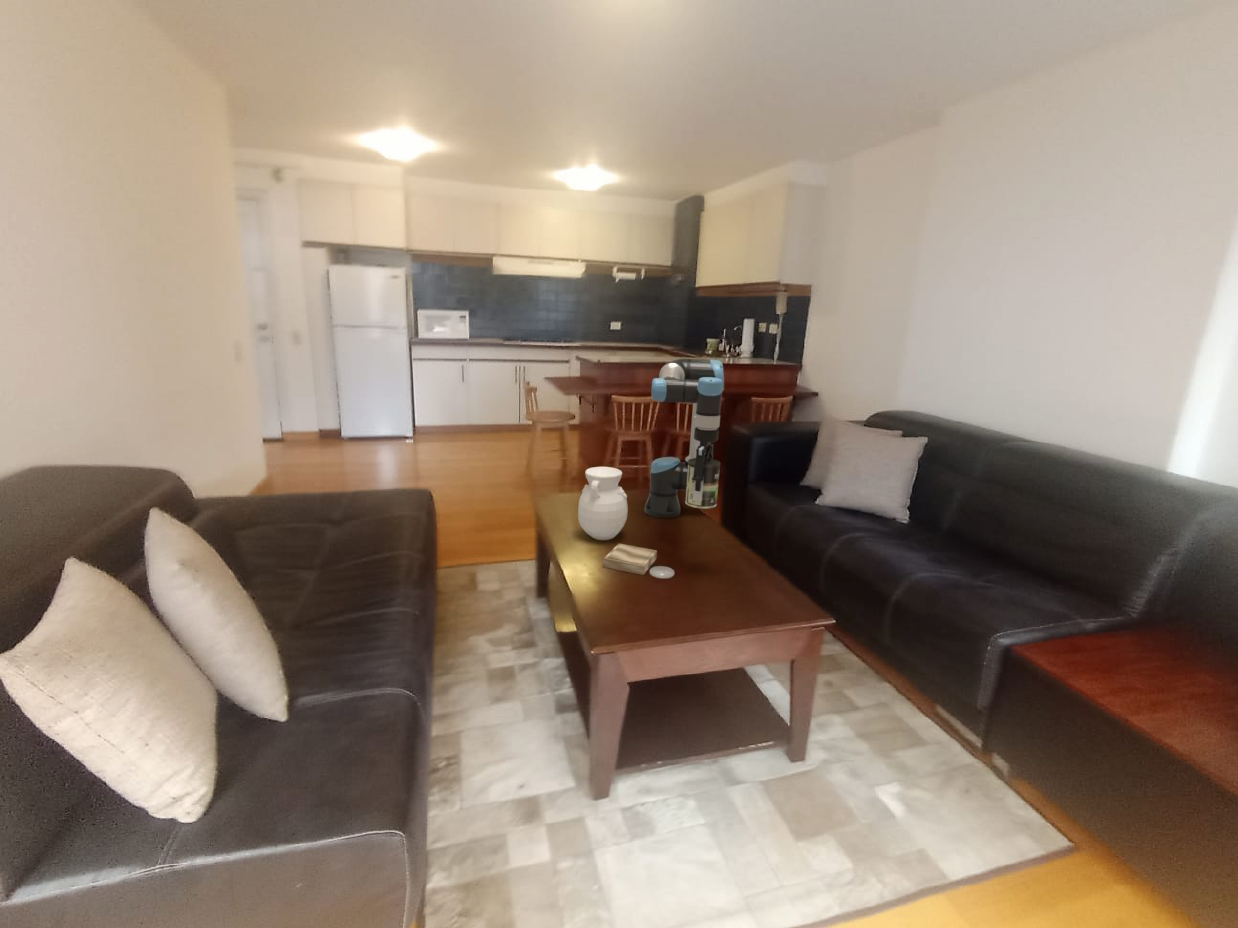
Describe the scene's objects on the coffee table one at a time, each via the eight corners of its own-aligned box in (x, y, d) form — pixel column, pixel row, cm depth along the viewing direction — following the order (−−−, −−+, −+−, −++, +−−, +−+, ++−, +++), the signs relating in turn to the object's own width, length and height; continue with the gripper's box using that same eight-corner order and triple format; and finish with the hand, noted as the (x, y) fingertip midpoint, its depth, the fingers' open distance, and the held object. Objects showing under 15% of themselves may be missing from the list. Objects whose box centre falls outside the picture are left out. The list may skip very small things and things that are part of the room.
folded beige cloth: (618, 551, 203) (618, 542, 202) (656, 558, 198) (657, 549, 197) (603, 566, 190) (603, 557, 189) (643, 575, 185) (643, 565, 185)
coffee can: (717, 500, 191) (721, 459, 187) (716, 510, 181) (720, 467, 177) (686, 497, 193) (689, 456, 189) (683, 507, 183) (686, 464, 179)
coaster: (653, 565, 192) (654, 564, 192) (677, 570, 190) (677, 568, 189) (646, 575, 185) (646, 573, 185) (670, 580, 182) (670, 578, 182)
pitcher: (592, 523, 228) (593, 462, 222) (634, 532, 221) (637, 469, 214) (567, 538, 212) (568, 473, 206) (612, 549, 204) (615, 481, 198)
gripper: (703, 420, 192) (698, 484, 197) (685, 433, 171) (680, 503, 177) (725, 422, 189) (720, 487, 195) (710, 436, 169) (704, 507, 174)
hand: (701, 495), depth 186 cm, fingers closed on coffee can, 10 cm apart
